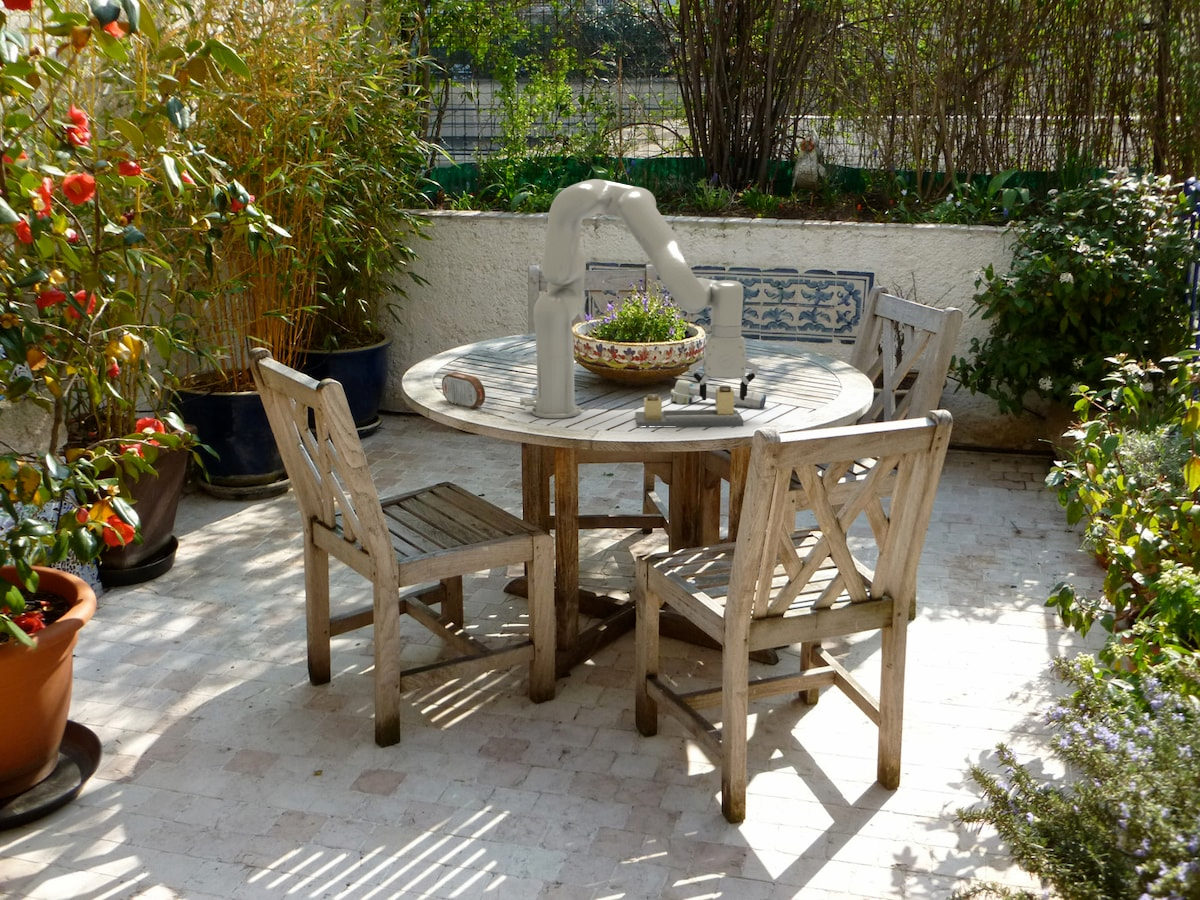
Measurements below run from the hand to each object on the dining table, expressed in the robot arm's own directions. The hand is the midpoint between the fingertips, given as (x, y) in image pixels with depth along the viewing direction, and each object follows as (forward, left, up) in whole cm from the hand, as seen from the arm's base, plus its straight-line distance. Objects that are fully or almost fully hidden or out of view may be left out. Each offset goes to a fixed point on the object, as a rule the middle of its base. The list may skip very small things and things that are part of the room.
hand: (722, 399), depth 294 cm
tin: (-66, +21, -6) cm, 70 cm away
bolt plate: (-9, 0, -6) cm, 10 cm away
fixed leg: (-18, 0, -4) cm, 18 cm away
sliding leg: (0, 0, -4) cm, 4 cm away
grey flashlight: (+1, +17, -6) cm, 18 cm away
